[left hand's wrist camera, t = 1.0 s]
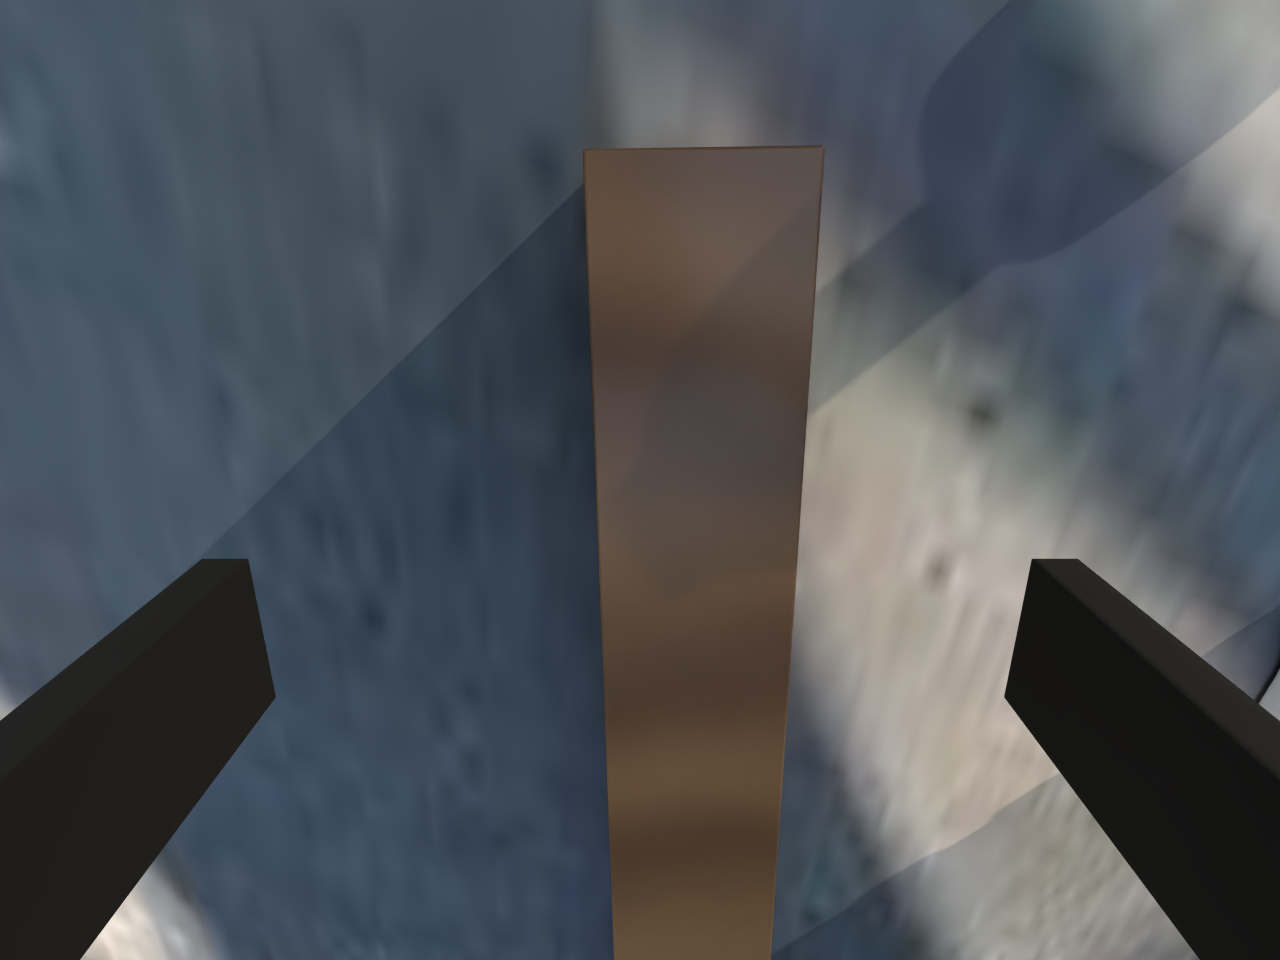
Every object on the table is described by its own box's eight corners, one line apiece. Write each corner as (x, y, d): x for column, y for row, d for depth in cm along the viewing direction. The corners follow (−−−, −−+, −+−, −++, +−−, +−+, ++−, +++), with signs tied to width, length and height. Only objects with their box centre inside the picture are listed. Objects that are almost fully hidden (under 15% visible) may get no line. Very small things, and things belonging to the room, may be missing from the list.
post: (600, 165, 25) (582, 148, 17) (765, 162, 25) (825, 145, 17) (632, 1209, 45) (631, 1421, 38) (722, 1208, 45) (740, 1420, 38)
